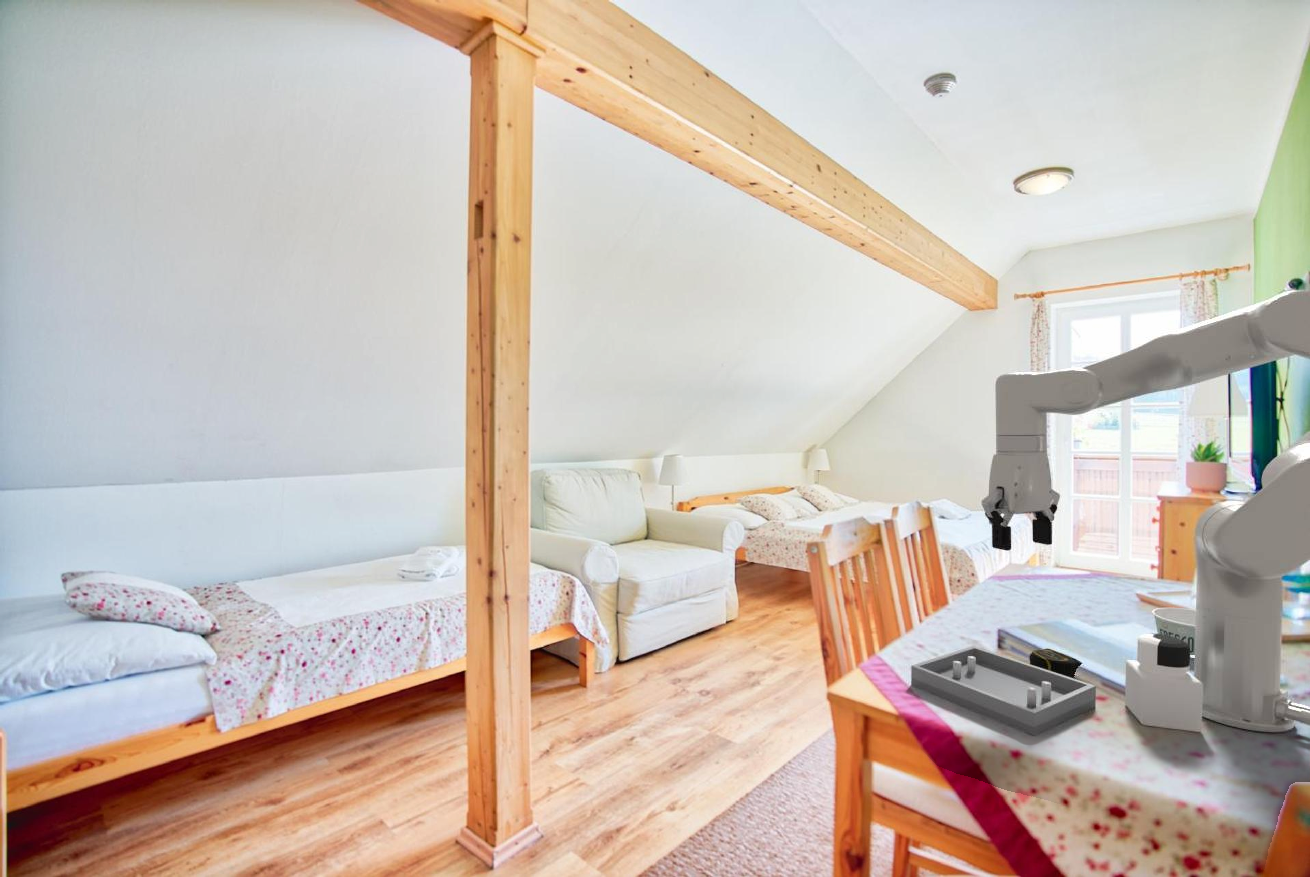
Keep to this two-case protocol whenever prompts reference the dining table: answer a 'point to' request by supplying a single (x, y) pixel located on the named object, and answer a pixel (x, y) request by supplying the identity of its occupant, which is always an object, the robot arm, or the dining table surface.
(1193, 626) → the food container
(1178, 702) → the medicine bottle
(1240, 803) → the dining table surface
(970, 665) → the pin tray
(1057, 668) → the tape measure
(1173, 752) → the dining table surface
